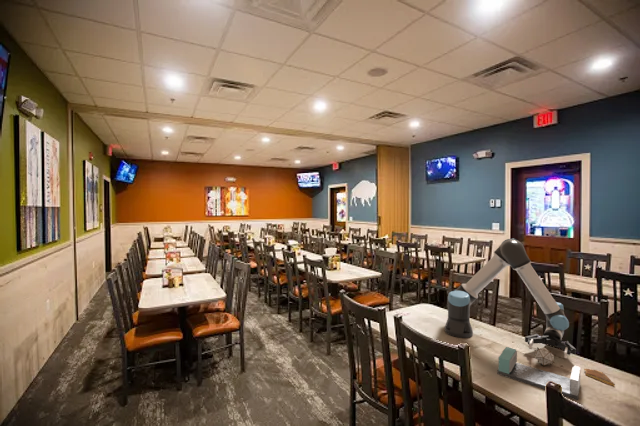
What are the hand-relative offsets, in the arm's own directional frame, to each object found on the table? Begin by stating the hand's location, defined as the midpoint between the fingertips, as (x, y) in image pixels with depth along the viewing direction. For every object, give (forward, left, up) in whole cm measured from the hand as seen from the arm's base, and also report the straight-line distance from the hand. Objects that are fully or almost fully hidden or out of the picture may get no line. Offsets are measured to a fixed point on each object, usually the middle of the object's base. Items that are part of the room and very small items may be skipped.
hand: (547, 350), depth 147 cm
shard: (+3, +19, -7) cm, 20 cm away
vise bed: (+20, -4, -6) cm, 21 cm away
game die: (+3, -1, -6) cm, 7 cm away
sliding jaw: (+18, -15, -4) cm, 24 cm away
